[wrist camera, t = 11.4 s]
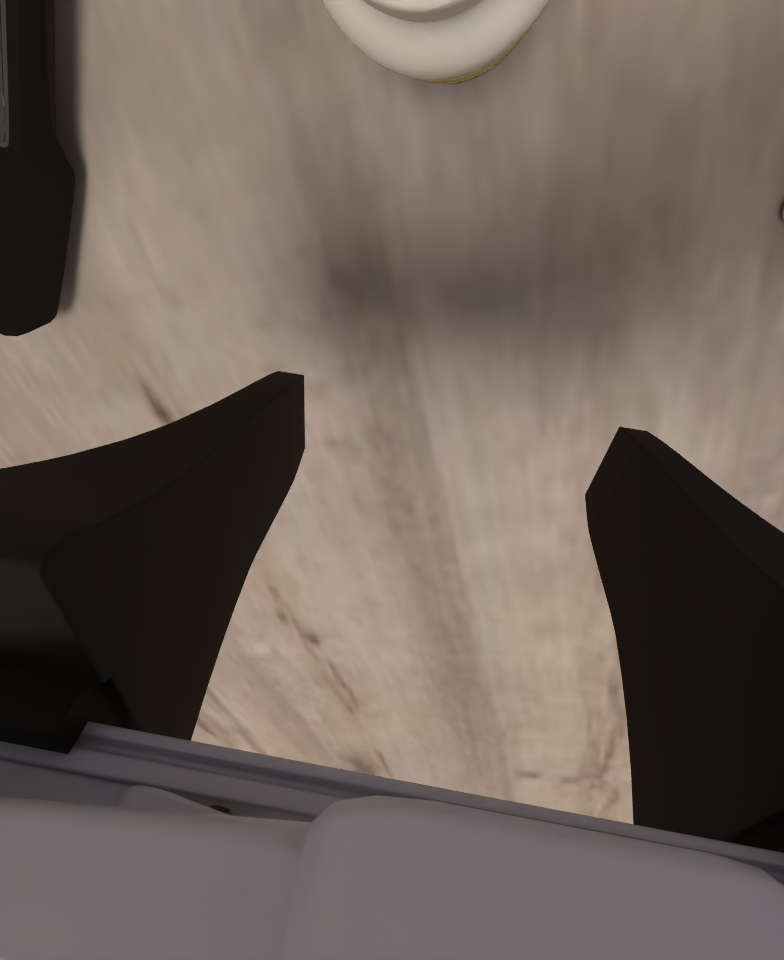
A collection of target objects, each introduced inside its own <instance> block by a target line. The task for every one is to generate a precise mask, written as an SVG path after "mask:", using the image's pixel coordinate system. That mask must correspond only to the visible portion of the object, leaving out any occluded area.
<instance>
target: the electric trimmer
mask: <svg viewBox="0 0 784 960" xmlns="http://www.w3.org/2000/svg"><path fill="white" fill-rule="evenodd" d="M74 186H75V176H74V171H73V169H72V168H71V166H70V164H69V162H68V160H67V158H66V156H65V154H64V152H63V150H62V148H61V147H60V145H59V143H58V141H57V140H56V116H55V33H54V0H0V334H2V335H5V336H19V335H22V334H25V333H28V332H30V331H33V330H35V329H37V328H39V327H41V326H43V325H45V324H48V323H50V322H51V321H52V320H53V319H54V318H55V316H56V315H57V311H58V307H59V300H60V294H61V287H62V280H63V272H64V265H65V258H66V251H67V244H68V237H69V229H70V222H71V213H72V204H73V195H74Z"/></svg>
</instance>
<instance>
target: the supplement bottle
mask: <svg viewBox="0 0 784 960" xmlns="http://www.w3.org/2000/svg"><path fill="white" fill-rule="evenodd" d="M322 2H323V4H324V6H325V7H326V9H327V10H328V12H329V14H330V15H331V17H332V18H333V20H334V21H335V23H336V24H337V26H338V27H339V28H340V29H341V31H342V32H343V33H344V34H345V35H346V37H347V38H348V39H349V40H350V41H351V42H352V43H353V44H354V45H355V46H356V47H357V48H359V49H360V50H361V51H362V52H363V53H364V54H365V55H367V56H368V57H369V58H370V59H372V60H373V61H374V62H376V63H377V64H379V65H381V66H383V67H385V68H387V69H389V70H392V71H394V72H396V73H398V74H401V75H404V76H408V77H412V78H416V79H419V80H424V81H427V82H432V83H441V84H455V83H461V82H464V81H468V80H470V79H473V78H475V77H478V76H480V75H481V74H483V73H485V72H487V71H488V70H490V69H491V68H492V67H494V66H495V65H497V64H498V63H499V62H500V61H501V60H503V59H504V58H505V57H506V56H507V55H508V54H509V53H510V52H511V51H512V49H513V48H514V47H515V46H516V45H517V44H518V42H519V41H520V40H521V38H522V37H523V36H524V34H525V33H526V32H527V31H528V29H529V28H530V26H531V25H532V24H533V22H534V21H535V20H536V19H537V17H538V16H539V15H540V13H541V12H542V10H543V9H544V8H545V6H546V5H547V3H548V2H549V0H322Z"/></svg>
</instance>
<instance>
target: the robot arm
mask: <svg viewBox="0 0 784 960" xmlns="http://www.w3.org/2000/svg"><path fill="white" fill-rule="evenodd" d="M782 219H783V220H784V209H783V212H782ZM304 449H305V420H304V375H299V374H293V373H287V372H281V371H277V372H274V373H272V374H270V375H268V376H266V377H264V378H262V379H260V380H258V381H256V382H254V383H252V384H250V385H249V386H247V387H245V388H243V389H241V390H239V391H237V392H235V393H233V394H232V395H230V396H228V397H226V398H224V399H222V400H220V401H218V402H216V403H214V404H212V405H210V406H208V407H205V408H203V409H201V410H199V411H197V412H195V413H192V414H190V415H188V416H186V417H184V418H182V419H179V420H177V421H175V422H172V423H170V424H167V425H165V426H162V427H160V428H157V429H154V430H152V431H149V432H146V433H143V434H140V435H137V436H134V437H132V438H128V439H125V440H122V441H119V442H115V443H111V444H108V445H104V446H101V447H97V448H93V449H90V450H86V451H82V452H79V453H75V454H71V455H67V456H62V457H58V458H53V459H49V460H44V461H40V462H34V463H29V464H24V465H19V466H13V467H8V468H2V469H0V960H784V533H783V532H782V531H780V530H779V529H777V528H776V527H774V526H773V525H771V524H770V523H768V522H767V521H766V520H764V519H763V518H761V517H760V516H759V515H757V514H756V513H754V512H753V511H752V510H750V509H749V508H747V507H746V506H745V505H743V504H742V503H741V502H739V501H738V500H737V499H735V498H734V497H733V496H731V495H730V494H729V493H727V492H726V491H725V490H724V489H722V488H721V487H720V486H718V485H717V484H716V483H715V482H713V481H712V480H711V479H710V478H708V477H707V476H706V475H704V474H703V473H702V472H701V471H699V470H698V469H697V468H696V467H695V466H693V465H692V464H691V463H690V462H688V461H687V460H686V459H685V458H683V457H682V456H681V455H680V454H678V453H677V452H676V451H674V450H673V449H672V448H671V447H669V446H668V445H667V444H665V443H664V442H663V441H661V440H660V439H658V438H657V437H655V436H654V435H652V434H651V433H649V432H647V431H642V430H636V429H630V428H624V427H619V429H618V431H617V433H616V435H615V437H614V439H613V441H612V443H611V445H610V447H609V449H608V451H607V453H606V454H605V456H604V458H603V460H602V462H601V464H600V466H599V468H598V470H597V472H596V474H595V476H594V478H593V480H592V482H591V484H590V486H589V488H588V490H587V492H586V494H585V499H586V511H587V521H588V529H589V534H590V538H591V542H592V546H593V550H594V554H595V558H596V561H597V565H598V569H599V572H600V576H601V580H602V583H603V587H604V590H605V594H606V598H607V601H608V605H609V609H610V612H611V616H612V621H613V625H614V630H615V634H616V640H617V647H618V654H619V661H620V667H621V674H622V682H623V691H624V699H625V708H626V716H627V727H628V739H629V751H630V763H631V779H632V801H633V822H634V825H633V824H628V823H623V822H618V821H612V820H607V819H602V818H596V817H591V816H586V815H581V814H575V813H570V812H565V811H559V810H554V809H549V808H543V807H538V806H533V805H528V804H522V803H517V802H512V801H506V800H501V799H496V798H491V797H485V796H480V795H475V794H469V793H464V792H459V791H454V790H448V789H443V788H438V787H432V786H427V785H422V784H416V783H411V782H406V781H401V780H395V779H390V778H385V777H379V776H374V775H369V774H364V773H358V772H353V771H348V770H342V769H337V768H332V767H326V766H321V765H316V764H311V763H305V762H300V761H295V760H289V759H284V758H279V757H274V756H268V755H263V754H258V753H252V752H247V751H242V750H237V749H231V748H226V747H221V746H215V745H210V744H205V743H199V742H194V741H191V738H192V735H193V732H194V728H195V725H196V722H197V719H198V715H199V712H200V709H201V706H202V702H203V699H204V696H205V693H206V690H207V687H208V684H209V681H210V678H211V675H212V672H213V669H214V666H215V662H216V659H217V656H218V653H219V650H220V647H221V645H222V642H223V639H224V636H225V633H226V631H227V628H228V625H229V622H230V619H231V617H232V614H233V611H234V608H235V605H236V603H237V600H238V597H239V595H240V592H241V590H242V587H243V584H244V582H245V579H246V576H247V574H248V571H249V569H250V567H251V564H252V562H253V560H254V558H255V556H256V553H257V551H258V550H259V548H260V546H261V544H262V542H263V540H264V538H265V536H266V534H267V532H268V530H269V528H270V526H271V524H272V522H273V521H274V519H275V517H276V515H277V513H278V511H279V509H280V507H281V505H282V503H283V501H284V499H285V497H286V495H287V493H288V491H289V489H290V487H291V485H292V483H293V481H294V478H295V476H296V473H297V470H298V467H299V464H300V461H301V458H302V455H303V452H304Z"/></svg>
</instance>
